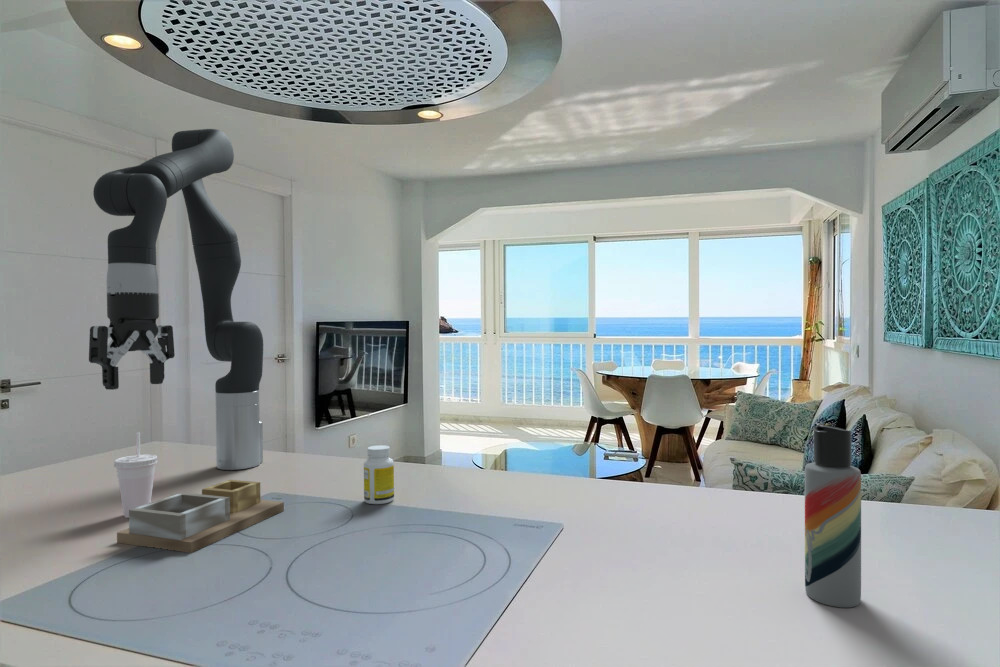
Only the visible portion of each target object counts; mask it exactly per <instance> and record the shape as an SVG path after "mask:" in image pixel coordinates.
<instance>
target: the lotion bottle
mask: <svg viewBox="0 0 1000 667" xmlns="http://www.w3.org/2000/svg"><path fill="white" fill-rule="evenodd" d="M861 474H862V473H861V470H860V469H859V468H858V467H855V466H853V465H852V431H851V430H849V429H848V430H847V429H844V428H841V427H836V426H832V425H828V424H827V425H826V424H817V425H816V426H815V427H814V428H813V462H809V463H806V464H805V466H804V586H805V587H804V589H805V593H806V595H807V597H809V598H811V599H812V600H814V601H815V602H818V603H820V604H823V605H826V606H830V607H837V608H853V607H856V606H859V605H860V603H861V600H862V475H861Z"/></svg>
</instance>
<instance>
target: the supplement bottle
mask: <svg viewBox="0 0 1000 667" xmlns="http://www.w3.org/2000/svg"><path fill="white" fill-rule="evenodd" d="M390 448H391V447H390V446H389V445H385V444H384V445H371V446H369V447H367V456H368V458H367V459H366V460H365V461H364V463H363V498H364V499H363V500H364V502H365V503H366V504H369V505H385V504H387V503H388V504H389V503H391V502H392V501H394V499H395V464H394V460H393V458H390V457H389V456H390V455H391V453H390V452H391V449H390Z"/></svg>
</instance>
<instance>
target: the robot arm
mask: <svg viewBox="0 0 1000 667" xmlns="http://www.w3.org/2000/svg"><path fill="white" fill-rule="evenodd" d="M234 155H235V154H234V149H233V145H232V142H231V140H230V138H229V137H228V135H227V134H226V133H225V132H224V131H222V130H220V129H216V128H203V129H189V130H181V131H180V130H179V131H176V132H175V133H173V136H172V138H171V152H167V153H166V152H165V153H163V154H162V153H161V154H160V155H157V156H154V157H152V158H149V159H148V160H146V161H144V162H142V163H140V164H139V165H134V166H128V167H125V168H120V169H119V168H118V169H115V170H112V171H109V172H106V173H104V174H102V175H101V176H100V177H99V178H97V181H96V182H95V184H94V187H93V193H92V194H93V199H94V201H95V204H96V205H97V206H98V208H99V209H100V210H101V211H103V213H106V214H108V215H111V216H115V217H133V219H132V221H131V223H130V224H129V225H127V226H125V227H121V228H117V229H114V230H111V231H110V232H109V233H108V236H107V272H106V317H107V318H108V319H109V325H108V326H106V325H92V326H91V327H90V328H89V347H88V362H89V363H90V364H96V365H100V367H101V374H102V375H101V376H102V378H101V379H102V383H101V384H102V385H103V387H104V388H105V389H106V390H118V389H119V383H120V382H119V377H120V376H119V366H117V365H118V363H119V362H120V361H121V359H122V358H123V357H124V356H125V355H126V354H127V353H128V352H136V351H138V352H139V351H140V352H142V353H143V354H145V355H146V356H147V358H148V359H149V361H150V363H149V383H150V384H151V385H162V384H163V383H164V380H165V363H166V361H168V360H170V359H174V358H175V342H174V328H173V326H172V325H169V324H167V325H164V324H163V325H161V324H160V325H158V324H157V319H159V317H160V308H159V306H160V305H159V302H160V300H159V299H160V298H159V297H160V296H159V276H158V270H157V246H156V245H157V239H158V236H159V233H160V230H161V229H160V228H161V224H162V221H163V218H164V214H165V211H166V207H167V205H168V204H167V203H168V199H169V198H170V197H172V196H173V195H175V194H176V193H178V192H179V191H181V192H182V195H183V199H184V204H185V208H186V212H187V217H188V223H189V229H190V235H191V243H192V248H193V254H194V259H195V260H194V261H195V264H196V267H197V268H196V269H197V273H198V278H199V279H198V280H199V284H200V291H201V299H202V305H203V307H202V309H203V320H204V336H205V343H206V347H207V350H208V352H209V354H210V356H212V358H213V359H214V360H217V361H219V362H229V363H230V368H229V369H230V370H229V371H228V373H227V374H226V375H224V376H222V377H219V378H218V379H216V381H215V384H214V385H215V390H214V391H215V448H216V449H215V450H216V451H215V452H216V453H215V455H216V458H215V460H216V468H217V469H219V470H224V471H235V470H236V471H237V470H244V469H250V468H255V467H257V466H259V465H260V464H261V463H263V461H264V447H263V446H264V445H263V442H264V441H263V440H264V439H263V438H264V437H263V422H262V421H260V383H261V380H262V377H263V367H264V364H263V362H264V337H263V333H262V330H261V329H260V327H259V326H258V325H257V324H256V323H254V322H252V321H234V316H233V310H232V294H233V291H234V287H235V285H236V283H237V280H238V277H239V274H240V271H241V266H242V260H241V259H242V258H241V251H240V246H239V240H238V235H237V232H236V230H235V229H234V228H233V226H232V225H231V223H230V222H229V220H227V218H226V217H225V216H224V215H223V214H222V213H221V211H220V210H219V209H218V208H217V207H216V205H215V204H214V203H213V201H212V200H211V198H210V197H209V195H208V194H207V190H206V187H205V185H204V181H203V179H204V178H206V177H209V176H211V175H214V174H220V173H223V172H226V171H228V170H229V169H231V167H232V166H233V163H234V159H235V156H234ZM156 337H157V338H156ZM110 338H111V340H110V342H108V340H109V339H110Z"/></svg>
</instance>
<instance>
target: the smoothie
mask: <svg viewBox="0 0 1000 667" xmlns="http://www.w3.org/2000/svg"><path fill="white" fill-rule="evenodd" d="M135 437H136V438H135V439H136V440H135V444H136V445H135V446H136V449H135V450H136V452H135V453H136V454H134V455H128V456H122V457H118V458H116V459H115V460H114V461H113V462H114V464H113V468H115V469H116V473H117V479H118V486H119V491H120V499H121V504H122V505H121V506H122V512H123V517H124V518H126V519H129V510H130V509H133V508H137V507H140V506H143V505H146V504H149V503H152V496H153V495H152V494H153V485H154V478H155V473H156V472H155V471H156V464H157V463H158V461H159V460H158V456H157V455H156V454H141V432H140V431H138V432H135Z"/></svg>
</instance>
